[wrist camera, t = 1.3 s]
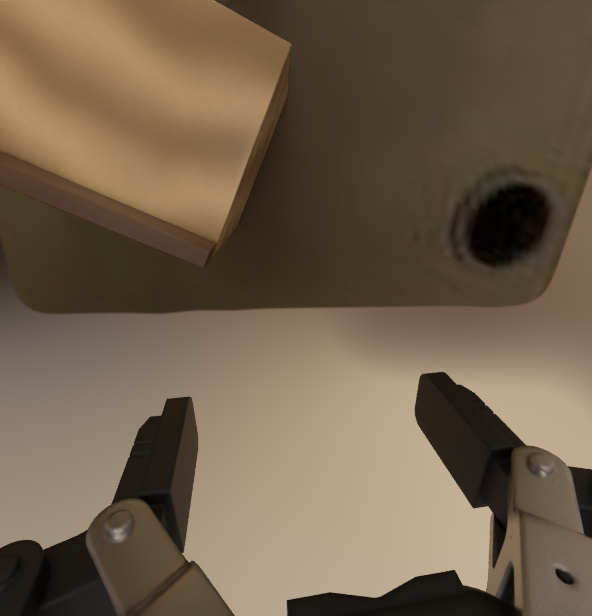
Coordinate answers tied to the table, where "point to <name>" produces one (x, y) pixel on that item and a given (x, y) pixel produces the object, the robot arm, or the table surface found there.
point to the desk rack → (139, 114)
